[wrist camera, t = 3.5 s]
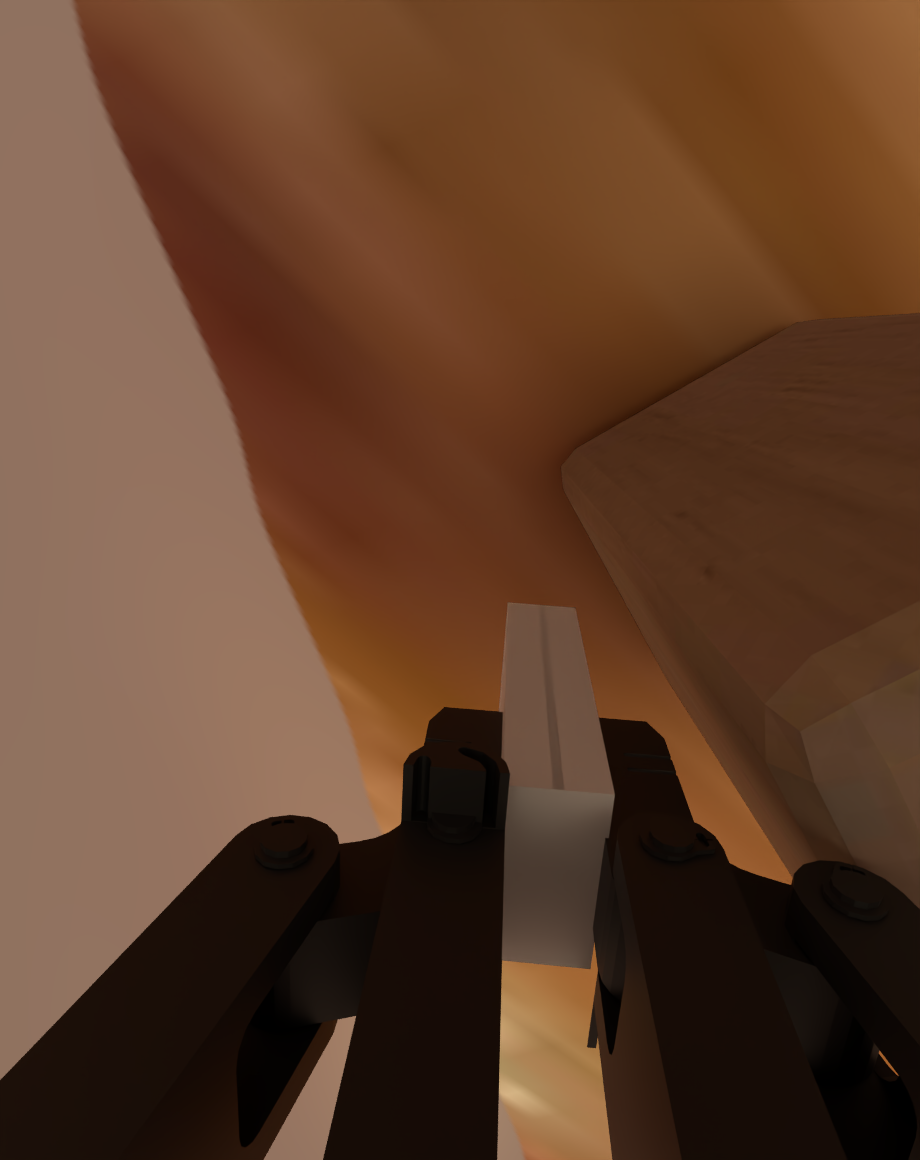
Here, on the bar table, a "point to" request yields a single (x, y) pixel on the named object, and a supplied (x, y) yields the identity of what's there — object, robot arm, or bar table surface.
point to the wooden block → (785, 577)
